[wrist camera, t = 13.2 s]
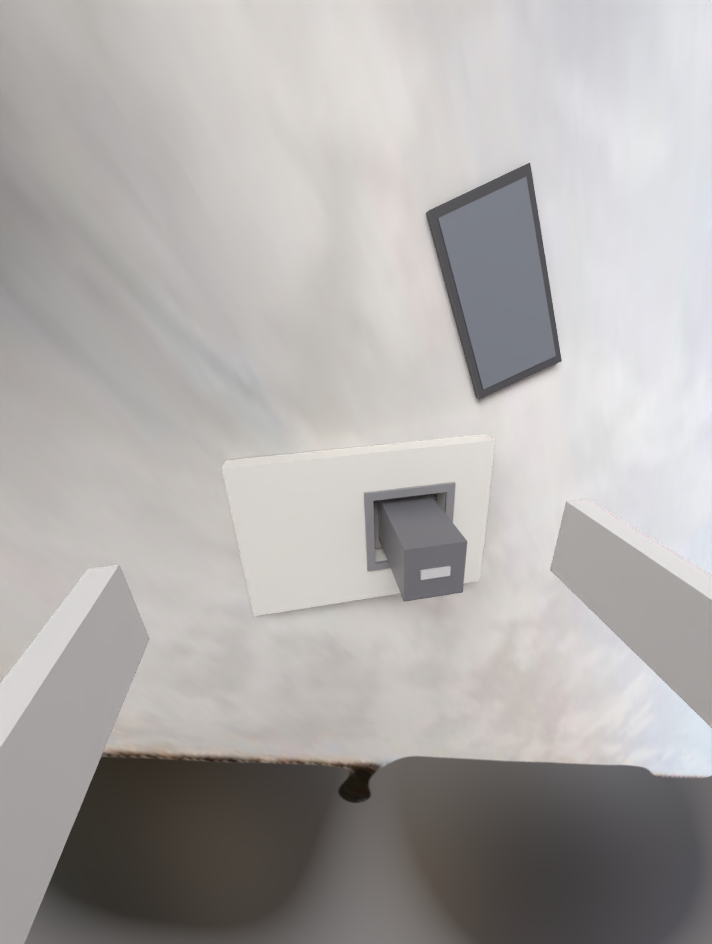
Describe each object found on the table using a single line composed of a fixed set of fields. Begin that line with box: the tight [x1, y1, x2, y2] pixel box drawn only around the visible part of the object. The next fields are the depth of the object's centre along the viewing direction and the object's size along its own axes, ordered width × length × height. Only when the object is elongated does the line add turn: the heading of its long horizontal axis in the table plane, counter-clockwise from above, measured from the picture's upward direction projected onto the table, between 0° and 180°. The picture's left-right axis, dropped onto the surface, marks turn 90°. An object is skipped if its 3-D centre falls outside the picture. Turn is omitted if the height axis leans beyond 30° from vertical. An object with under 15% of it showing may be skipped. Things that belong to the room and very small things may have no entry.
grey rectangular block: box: [378, 494, 467, 601], centre depth 32 cm, size 5×5×9 cm
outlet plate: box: [222, 434, 495, 616], centre depth 35 cm, size 24×16×2 cm, turn 93°
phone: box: [426, 163, 561, 399], centre depth 29 cm, size 8×15×1 cm, turn 23°
